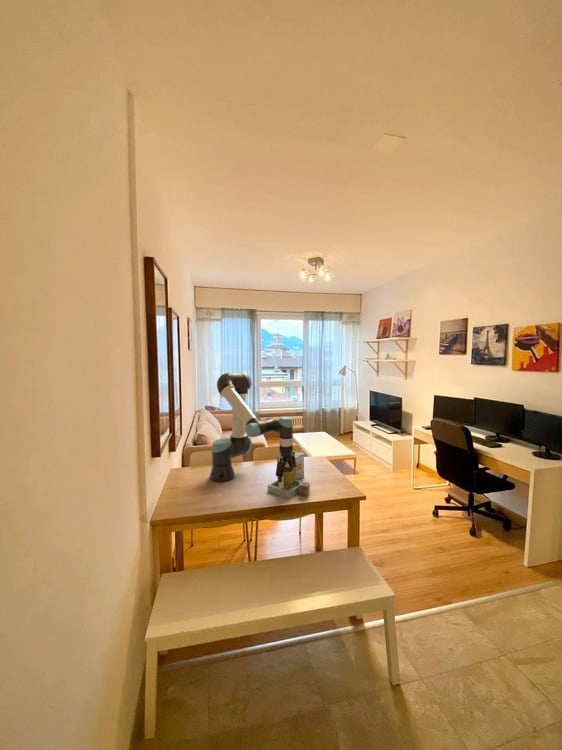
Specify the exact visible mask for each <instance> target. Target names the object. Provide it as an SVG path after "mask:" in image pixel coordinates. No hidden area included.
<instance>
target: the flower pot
mask: <svg viewBox="0 0 562 750" xmlns="http://www.w3.org/2000/svg"><path fill="white" fill-rule="evenodd" d="M295 474H296V467H287V466H285V468H284V472H283V480H284V486H287V487H290V486H291V484H292V483H293V481H294V479H295ZM276 477H277V479H278V476H276Z"/></svg>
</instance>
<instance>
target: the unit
mask: <svg viewBox="0 0 562 750" xmlns="http://www.w3.org/2000/svg"><path fill="white" fill-rule="evenodd" d="M293 452H295V460H296V466H297V467H296V474H295V479H294V480H298V481H301V479H303V478H304V477H305V453H303V452H298V451H295V450H293ZM285 466H287V467H289V464H288V462H287V463H286V465H285Z"/></svg>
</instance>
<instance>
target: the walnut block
mask: <svg viewBox="0 0 562 750" xmlns="http://www.w3.org/2000/svg"><path fill="white" fill-rule="evenodd" d="M310 492H311V491H310V482H307V481H301V482H300V483H299V485H298V497H303V498H309V495H310Z"/></svg>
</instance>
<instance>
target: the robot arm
mask: <svg viewBox="0 0 562 750" xmlns="http://www.w3.org/2000/svg"><path fill="white" fill-rule="evenodd" d="M251 387H252V379H251V376H250V375H249V374H247V373H246V372H242V371H241V372H240V371H239V372H226V373H222V374H221V375H220V376H219V377H218V379H217V381H216V389H217V391H218V393H219V395H220V397H222V398H224V399H225V400H226V402H227V403H228V404H229V405H230V407H231V415H232V416H231V417H232V420H231V423H232V425H231V426H232V432H231V433H230V435H229V437H222V438H217V439H216V440H214V441H213V442H212V444H211V445H212V446H211V453H212V457H211V458H212V460H211V461H212V467H211V470H210V473H209V479H210V480H211V481H212V482H217V483H224V482H229V481H231V480H233V479H235V476H236V474H235V469H234V467H233V464H232V459H233V458H236V457H240V456H245V455H247V454H248V453H250V452H251V450H252V446H253V443H252V442H253V441H252V438H257V437H260V436H262V435H267V434H268V435H269V434H272V433H276V434H278V435H279V439H278V440H279V453H280V456H279V457H276V461H277V462H276V469H275V476H276V477H277V476H278V478H277V480H278V481H279V487H280V488H284V480H283V472H284V468H285V465H286V463H287V462H288V464H289V467H297V466H296V460H295V452H296V451H295V452H293V451H294V446H293V445H294V438H293V437H294V430H293V429H294V424H293V423H294V422H293V420H294V419H293V418H292V417H291V416H281V417H279V418H273V417H266V418H265V419H263V420H260V419H258V417H257V416H256V415H255V414H254V412H253V411H252V410H251V408H250V407H249V406H248V405H247V403H246V396H247V394H248V393H249V392H248V391H249V390H250V389H251ZM293 482H294V481H293Z"/></svg>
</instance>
